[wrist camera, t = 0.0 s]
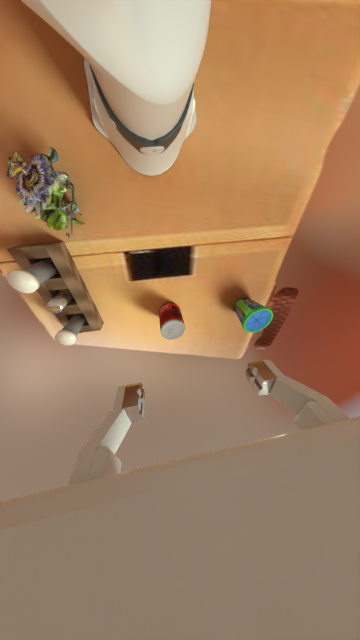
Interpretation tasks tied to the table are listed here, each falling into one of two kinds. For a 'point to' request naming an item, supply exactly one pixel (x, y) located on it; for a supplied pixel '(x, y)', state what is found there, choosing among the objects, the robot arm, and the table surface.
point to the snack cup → (253, 315)
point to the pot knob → (58, 302)
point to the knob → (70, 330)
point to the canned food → (171, 321)
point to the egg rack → (61, 282)
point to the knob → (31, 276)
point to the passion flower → (44, 189)
